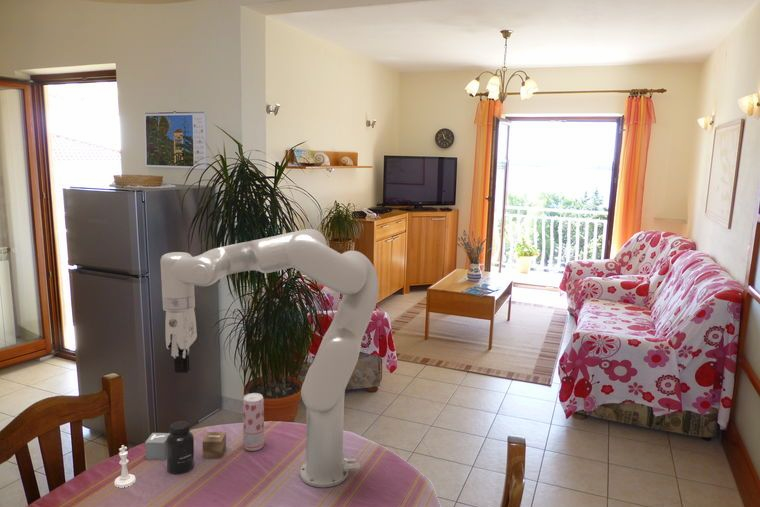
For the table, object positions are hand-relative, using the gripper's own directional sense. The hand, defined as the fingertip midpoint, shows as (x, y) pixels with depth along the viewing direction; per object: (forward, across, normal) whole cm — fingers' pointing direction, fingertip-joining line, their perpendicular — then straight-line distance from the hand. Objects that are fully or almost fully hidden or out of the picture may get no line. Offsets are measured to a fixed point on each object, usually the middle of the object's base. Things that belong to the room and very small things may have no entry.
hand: (182, 371), depth 140 cm
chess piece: (+27, -7, +13) cm, 31 cm away
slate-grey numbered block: (+27, +6, +10) cm, 29 cm away
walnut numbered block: (+27, +7, -5) cm, 29 cm away
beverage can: (+27, +11, -15) cm, 33 cm away
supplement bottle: (+27, 0, +2) cm, 27 cm away
